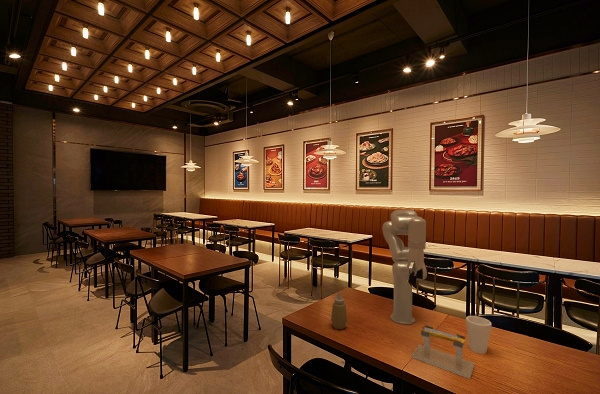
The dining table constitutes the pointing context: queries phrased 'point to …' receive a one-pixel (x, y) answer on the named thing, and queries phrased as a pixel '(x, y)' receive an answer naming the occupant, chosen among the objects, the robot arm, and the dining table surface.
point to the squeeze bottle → (339, 313)
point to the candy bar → (443, 335)
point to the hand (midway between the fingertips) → (416, 281)
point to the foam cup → (478, 333)
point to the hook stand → (444, 357)
